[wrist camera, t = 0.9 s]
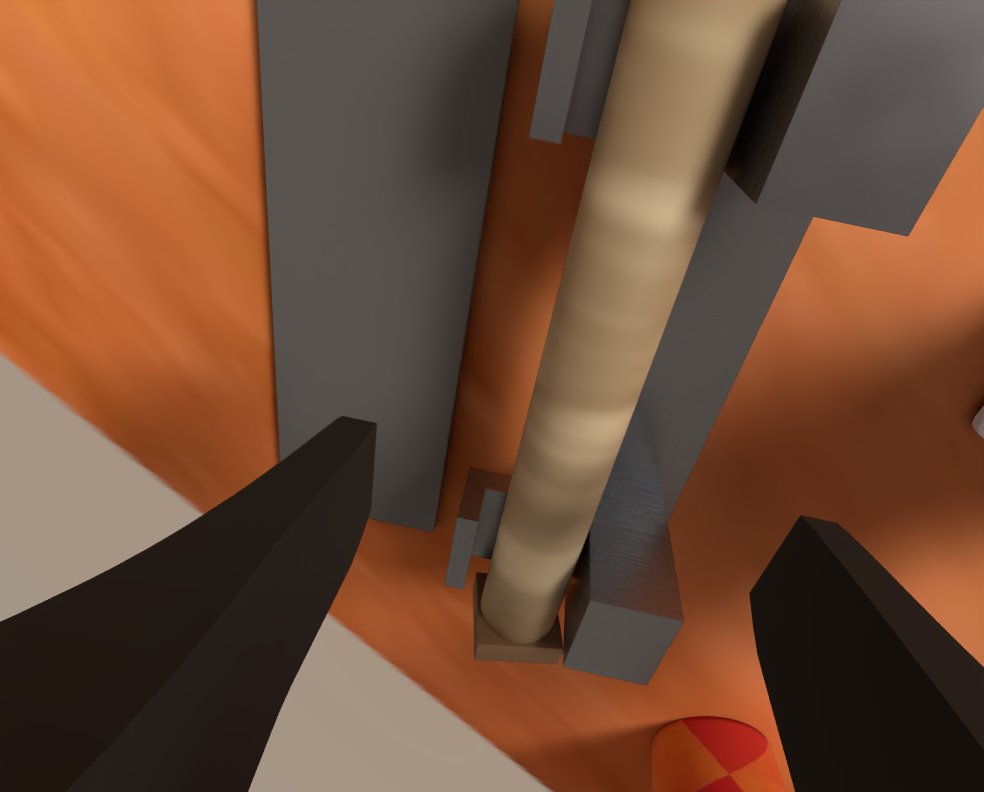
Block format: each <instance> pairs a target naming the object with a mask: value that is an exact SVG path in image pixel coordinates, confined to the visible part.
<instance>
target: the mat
mask: <svg viewBox="0 0 984 792" xmlns="http://www.w3.org/2000/svg"><path fill="white" fill-rule="evenodd" d="M518 6H519V0H257V15H258V35H259V55H260V74H261V94H262V114H263V133H264V153H265V173H266V193H267V212H268V232H269V252H270V271H271V291H272V311H273V331H274V350H275V370H276V390H277V409H278V429H279V449H280V462H281V461H282V460H284V459H285V458H286V457H288V456H289V455H290V454H292V453H293V452H294V451H295V450H297V449H298V448H299V447H301V446H302V445H303V444H305V443H306V442H307V441H309V440H310V439H311V438H312V437H314V436H315V435H316V434H317V433H319V432H320V431H321V430H323V429H324V428H325V427H326V426H328V425H329V424H330V423H332V422H333V421H334V420H336V419H337V418H339V417H341V416H346V417H351V418H356V419H360V420H365V421H369V422H374V423H377V432H376V447H375V461H374V476H373V490H372V504H371V512H370V515H369V517H368V518H370V519H375V520H379V521H384V522H388V523H393V524H397V525H402V526H406V527H411V528H415V529H420V530H424V531H429V532H434V528H435V525H436V519H437V512H438V506H439V500H440V494H441V487H442V481H443V475H444V469H445V462H446V456H447V450H448V444H449V437H450V431H451V425H452V419H453V412H454V406H455V400H456V394H457V387H458V381H459V375H460V369H461V362H462V356H463V350H464V344H465V337H466V331H467V325H468V319H469V312H470V306H471V300H472V294H473V287H474V281H475V275H476V269H477V262H478V256H479V250H480V244H481V237H482V231H483V225H484V219H485V212H486V206H487V200H488V194H489V187H490V181H491V175H492V169H493V162H494V156H495V150H496V144H497V137H498V131H499V125H500V118H501V112H502V106H503V100H504V93H505V87H506V81H507V75H508V68H509V62H510V56H511V50H512V43H513V37H514V31H515V25H516V18H517V12H518Z"/></svg>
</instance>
